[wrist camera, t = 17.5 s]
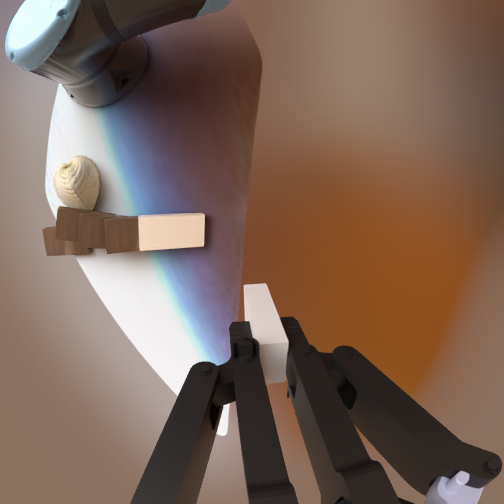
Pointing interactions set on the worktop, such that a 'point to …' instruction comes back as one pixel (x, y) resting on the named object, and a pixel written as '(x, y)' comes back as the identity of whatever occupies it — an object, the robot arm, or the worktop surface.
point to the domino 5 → (171, 231)
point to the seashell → (78, 183)
